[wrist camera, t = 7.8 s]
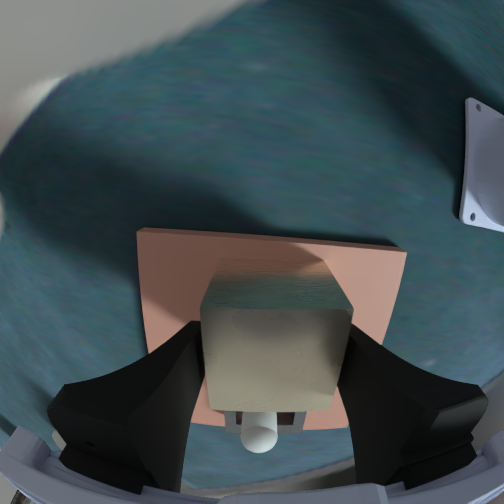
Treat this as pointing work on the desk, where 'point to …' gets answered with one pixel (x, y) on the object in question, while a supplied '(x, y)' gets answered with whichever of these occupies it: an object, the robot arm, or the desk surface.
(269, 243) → the keeper board
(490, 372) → the desk surface
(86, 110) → the desk surface
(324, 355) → the beige block with handle
